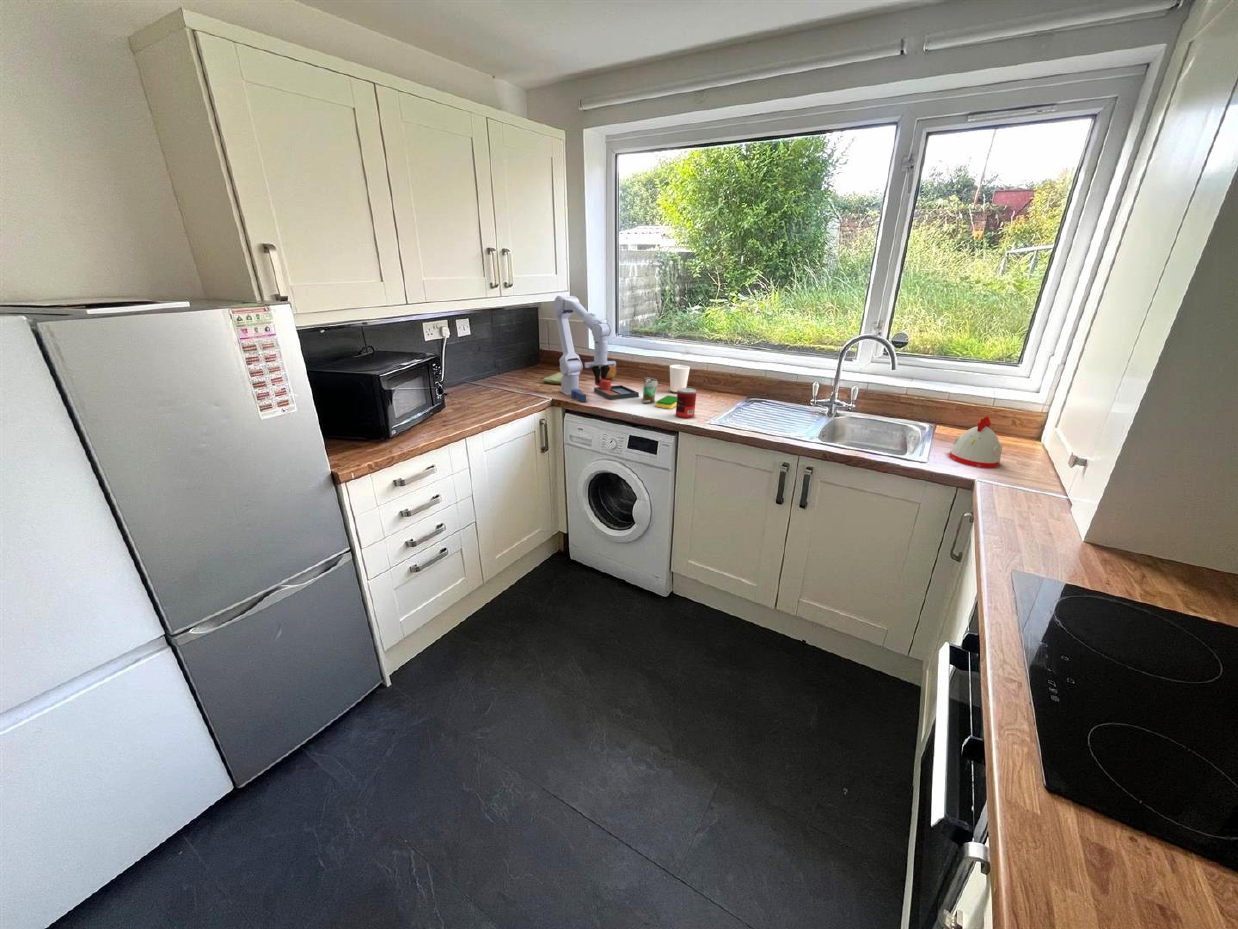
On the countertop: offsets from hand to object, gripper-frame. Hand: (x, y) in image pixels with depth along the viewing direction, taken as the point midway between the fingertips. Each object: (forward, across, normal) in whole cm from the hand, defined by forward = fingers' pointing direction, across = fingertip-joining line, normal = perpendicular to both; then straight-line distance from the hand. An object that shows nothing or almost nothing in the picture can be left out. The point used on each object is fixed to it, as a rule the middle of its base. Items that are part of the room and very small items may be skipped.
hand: (600, 382), depth 222 cm
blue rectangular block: (+8, -8, +7) cm, 13 cm away
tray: (+8, +13, +9) cm, 18 cm away
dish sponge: (+8, +26, -17) cm, 32 cm away
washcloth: (+9, -1, +44) cm, 45 cm away
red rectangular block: (+1, 0, -3) cm, 3 cm away
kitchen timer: (+8, +83, -116) cm, 143 cm away
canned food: (+8, +22, -35) cm, 42 cm away
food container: (+8, +21, -9) cm, 25 cm away
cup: (+8, +44, +2) cm, 45 cm away
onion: (+9, +24, +40) cm, 47 cm away
